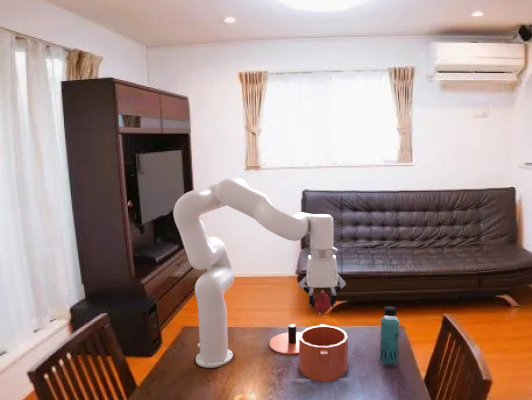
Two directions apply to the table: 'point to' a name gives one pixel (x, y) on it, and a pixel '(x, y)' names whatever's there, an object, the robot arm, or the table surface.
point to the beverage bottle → (389, 336)
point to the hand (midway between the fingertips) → (322, 305)
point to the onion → (322, 302)
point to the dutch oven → (323, 353)
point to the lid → (286, 342)
